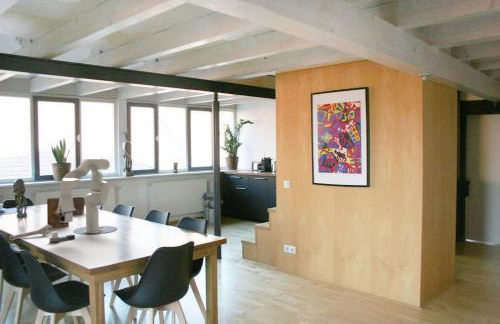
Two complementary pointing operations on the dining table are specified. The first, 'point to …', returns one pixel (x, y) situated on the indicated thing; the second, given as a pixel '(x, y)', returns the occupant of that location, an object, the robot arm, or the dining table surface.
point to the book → (54, 214)
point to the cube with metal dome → (68, 217)
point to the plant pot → (78, 205)
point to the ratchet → (57, 239)
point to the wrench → (33, 232)
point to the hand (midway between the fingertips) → (66, 220)
